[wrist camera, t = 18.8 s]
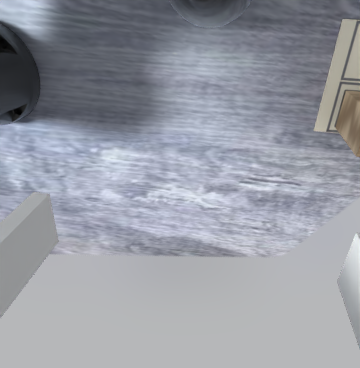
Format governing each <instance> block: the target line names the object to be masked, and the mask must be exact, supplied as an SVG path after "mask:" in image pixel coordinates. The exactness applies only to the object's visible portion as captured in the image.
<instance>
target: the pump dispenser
mask: <svg viewBox="0 0 360 368" xmlns="http://www.w3.org/2000/svg"><path fill="white" fill-rule="evenodd" d="M251 1H252V0H169V2H170V4H171V5H172V7H173V8H174V10H175V11H176V12H177V13H178V14H179V15H180V16H181V17H182V18H183V19H184V20H186V21H187V22H189V23H191V24H193V25H195V26H199V27H203V28H216V27H221V26H224V25H226V24H229V23H230V22H232V21H234V20H235V19H237V18H238V17H239V16H240V15H241V14H242V13H243V12H244V11H245V10H246V9H247V7H248V6H249V4H250V3H251Z"/></svg>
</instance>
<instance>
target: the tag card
mask: <svg viewBox="0 0 360 368" xmlns="http://www.w3.org/2000/svg"><path fill="white" fill-rule="evenodd" d="M345 90H358V91H360V20H354V19H342V22H341V26H340V30H339V33H338V37H337V41H336V45H335V49H334V53H333V57H332V61H331V65H330V68H329V72H328V76H327V80H326V84H325V88H324V92H323V96H322V100H321V103H320V107H319V111H318V115H317V119H316V123H315V127H314V131H318V132H329V133H339V132H338V131H337V129H336V128H335V127H334V125H335V122H336V119H337V115H338V112H339V108H340V105H341V101H342V98H343V94H344V91H345Z"/></svg>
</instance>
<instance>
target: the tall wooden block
mask: <svg viewBox="0 0 360 368" xmlns="http://www.w3.org/2000/svg"><path fill="white" fill-rule="evenodd" d="M334 127H335V128H336V129H337V131H338V132H339V133H340V135H341V136H342V138H343V139H344V140H345V142H346V143H347V145H348V146H349V147H350V149H351V150H352V151H353V153H354V154H355V156H356V157H360V91H358V90H345V91H344V94H343V98H342V101H341V105H340V108H339V112H338V115H337V119H336V122H335V125H334Z"/></svg>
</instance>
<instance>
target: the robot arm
mask: <svg viewBox="0 0 360 368" xmlns="http://www.w3.org/2000/svg"><path fill="white" fill-rule="evenodd" d="M39 92H40V81H39V74H38V70H37V67H36V64H35V62H34V60H33V57H32V55H31V54H30V52H29V50H28V49H27V47H26V46H25V45H24V43H23V42H22V41H21V40H20V39H19V37H18V36H17V35H16V34H14V33H13V32H12V31H11V30H10V29H8V28H7V27H5V26H4V25H2V24H0V125H6V124H10V123H13V122H16V121H18V120H20V119H21V118H23V117H25V116H27V115H28V114H29V113H30V112H31V111H32V110H33V108H34V107H35V105H36V103H37V100H38V97H39ZM58 242H59V241H58V236H57V231H56V225H55V220H54V215H53V210H52V205H51V200H50V194H46V193H38V192H33V193H32V194H31V195H30V196H29V197H28V198H26V199H25V200H24V201H23V202H22V203H21V204H20V205H19V206H18V207H17V208H16V209H15V210H13V211H12V212H11V213H10V214H9V215H8V216H7V217H6V218H5V219H4V220H3V221H2V222H1V223H0V318H1V317H2V316H3V314H4V313H5V311H6V310H7V309H8V307H9V306H10V305H11V304H12V302H13V301H14V300H15V298H16V297H17V296H18V294H19V293H20V292H21V290H22V289H23V288H24V286H25V285H26V284H27V283H28V281H29V280H30V279H31V277H32V276H33V275H34V273H35V272H36V271H37V269H38V268H39V267H40V265H41V264H42V262H43V261H44V260H45V259H46V257H47V256H48V255H49V253H50V252H51V251H52V249H53V248H54V247H55V246H56V244H57V243H58ZM337 283H338V286H339V289H340V292H341V295H342V298H343V301H344V304H345V307H346V310H347V313H348V316H349V319H350V322H351V325H352V327H353V331H354V334H355V336H356V339H357V342H358V345H359V348H360V233H356V235H355V237H354V240H353V243H352V245H351V248H350V250H349V253H348V255H347V258H346V260H345V263H344V265H343V268H342V270H341V273H340V276H339V278H338V281H337Z"/></svg>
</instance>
